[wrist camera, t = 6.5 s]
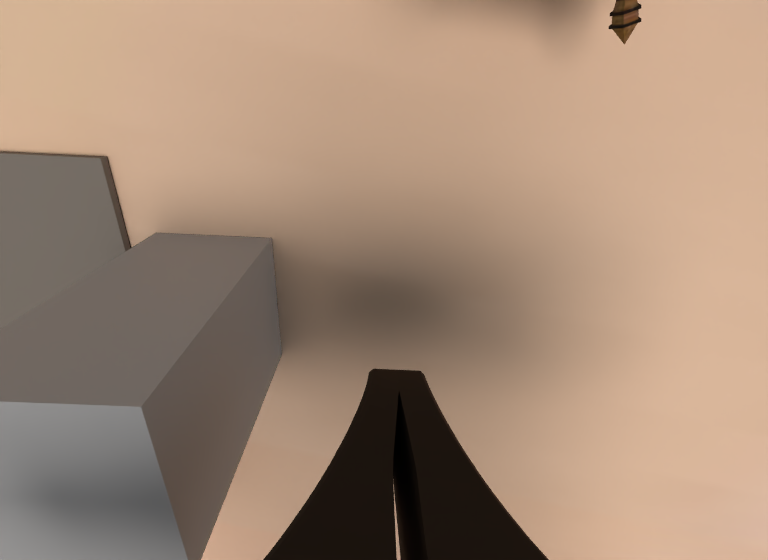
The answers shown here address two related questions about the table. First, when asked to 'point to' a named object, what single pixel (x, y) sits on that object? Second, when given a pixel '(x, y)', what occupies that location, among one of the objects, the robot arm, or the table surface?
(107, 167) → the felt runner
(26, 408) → the slate block
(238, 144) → the table surface
